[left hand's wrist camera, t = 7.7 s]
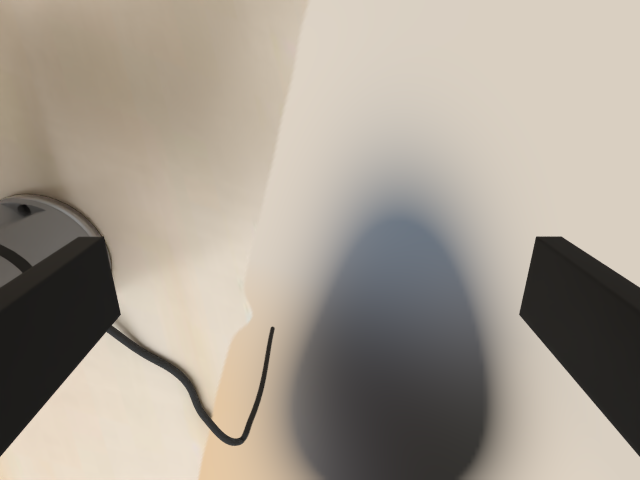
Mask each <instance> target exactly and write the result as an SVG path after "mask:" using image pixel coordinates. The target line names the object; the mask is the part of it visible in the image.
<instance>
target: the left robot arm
mask: <svg viewBox="0 0 640 480" xmlns="http://www.w3.org/2000/svg"><path fill="white" fill-rule="evenodd" d="M120 315H121V314H120V309H119V304H118V300H117V295H116V290H115V286H114V281H113V277H112V272H111V259H110V255H109V252H108V249H107V246H106V244H105V240H104V237H101V235H100V233H99V232H98V231H97V229H96V228H95V227H94V226H93V225H92V224H91V222H90V221H89V220H88V219H86V218H85V217H84V216H83V215H82V214H81V213H79V212H78V211H76V210H75V209H73V208H72V207H70V206H68V205H67V204H65V203H62V202H60V201H58V200H55V199H53V198H49V197H46V196H40V195H33V194H22V195H14V196H10V197H7V198H4V199H1V200H0V456H1V455H2V454H3V453H4V452H5V450H6V449H7V448H8V447H9V446H10V445H11V443H12V442H13V441H14V440H15V439H16V437H17V436H18V435H19V434H20V433H21V432H22V430H23V429H24V428H25V427H26V426H27V425H28V423H29V422H30V421H31V420H32V419H33V417H34V416H35V415H36V414H37V413H38V412H39V410H40V409H41V408H42V407H43V406H44V404H45V403H46V402H47V401H48V400H49V399H50V397H51V396H52V395H53V394H54V393H55V391H56V390H57V389H58V388H59V387H60V386H61V384H62V383H63V382H64V381H65V380H66V379H67V377H68V376H69V375H70V374H71V373H72V371H73V370H74V369H75V368H76V367H77V366H78V364H79V363H80V362H81V361H82V360H83V358H84V357H85V356H86V355H87V354H88V353H89V351H90V350H91V349H92V348H93V347H94V346H95V344H96V343H97V342H98V341H99V340H100V338H101V337H102V336H103V335H104V334H105V333H106V332H107V333H109V334H110V335H112V336H113V337H114V338H116V339H117V340H118V341H120V342H121V343H122V344H124V345H125V346H127V347H128V348H129V349H131V350H132V351H134V352H135V353H137V354H138V355H140V356H142V357H143V358H145V359H147V360H149V361H150V362H152V363H154V364H156V365H158V366H160V367H162V368H164V369H165V370H167V371H168V372H170V373H171V374H173V375H174V376H175V377H176V378H178V379H179V380H180V381H181V382H182V384H183V385H184V386H185V387H186V389H187V391H188V393H189V395H190V397H191V400H192V403H193V405H194V407H195V409H196V411H197V413H198V415H199V416H200V417H201V419H202V420H203V421H204V422H205V424H206V425H207V426H208V427H209V428H210V430H211V431H212V432H213V433H214V434H215V435H216V436H217V437H218V438H219V439H220V440H222V441H223V442H224V443H226V444H228V445H232V446H237V445H241V444H242V443H244V442H245V440H246V439H247V437H248V435H249V433H250V429H251V426H252V423H253V421H254V418H255V416H256V413H257V410H258V407H259V404H260V401H261V397H262V394H263V390H264V386H265V381H266V376H267V370H268V365H269V358H270V352H271V345H272V340H273V335H274V330H275V328H274V327H271V329H270V333H269V338H268V343H267V348H266V354H265V360H264V366H263V371H262V376H261V381H260V385H259V389H258V392H257V396H256V399H255V402H254V405H253V408H252V410H251V413H250V415H249V418H248V420H247V423H246V426H245V429H244V431H243V434H242V436H241V437H240V438H238V439H234V438H231V437H229V436H227V435H226V434H224V433H223V432H222V431H221V430H220V429H219V428H218V427H217V425H216V424H215V423H214V422H213V421H212V420H211V418H210V417H209V416H208V415H207V413H206V412H205V411H204V409H203V408H202V406H201V403H200V401H199V398H198V396H197V393H196V391H195V389H194V387H193V385H192V383H191V382H190V380H189V379H188V378H187V377H186V376H185V375H184V374H183V373H182V372H181V371H180V370H179V369H177V368H176V367H175V366H173V365H172V364H170V363H168V362H167V361H165V360H163V359H161V358H159V357H157V356H156V355H154V354H152V353H150V352H148V351H147V350H145V349H143V348H142V347H140V346H139V345H137V344H136V343H135V342H133V341H132V340H130V339H129V338H128V337H126V336H125V335H124V334H122V333H121V332H120V331H118V330H117V329H116V328H114V327H113V326H112V324H113V323H114V322H115V321H116V320H117V318H118V317H119V316H120ZM519 315H520V316H521V317H522V318H523V320H524V321H525V322H526V323H527V324H528V325H529V327H530V328H531V329H532V330H533V331H534V333H535V334H536V335H537V336H538V337H539V338H540V340H541V341H542V342H543V343H544V344H545V346H546V347H547V348H548V349H549V350H550V351H551V353H552V354H553V355H554V356H555V357H556V358H557V360H558V361H559V362H560V363H561V364H562V366H563V367H564V368H565V369H566V370H567V371H568V373H569V374H570V375H571V376H572V377H573V379H574V380H575V381H576V382H577V383H578V384H579V386H580V387H581V388H582V389H583V390H584V391H585V393H586V394H587V395H588V396H589V397H590V399H591V400H592V401H593V402H594V403H595V404H596V406H597V407H598V408H599V409H600V410H601V412H602V413H603V414H604V415H605V416H606V417H607V419H608V420H609V421H610V422H611V423H612V424H613V426H614V427H615V428H616V429H617V430H618V431H619V433H620V434H621V435H622V436H623V437H624V439H625V440H626V441H627V442H628V443H629V445H630V446H631V447H632V448H633V449H634V450H635V452H636V453H637V454H638V455H639V456H640V287H638V286H636V285H635V284H633V283H632V282H630V281H629V280H627V279H626V278H624V277H623V276H621V275H620V274H618V273H617V272H615V271H613V270H612V269H610V268H609V267H607V266H606V265H604V264H603V263H601V262H600V261H598V260H596V259H595V258H593V257H592V256H590V255H589V254H587V253H586V252H584V251H583V250H581V249H580V248H578V247H576V246H575V245H573V244H572V243H570V242H569V241H567V240H566V239H564V238H563V237H536V240H535V244H534V249H533V254H532V258H531V263H530V267H529V272H528V277H527V281H526V286H525V291H524V295H523V300H522V305H521V309H520V314H519Z"/></svg>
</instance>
